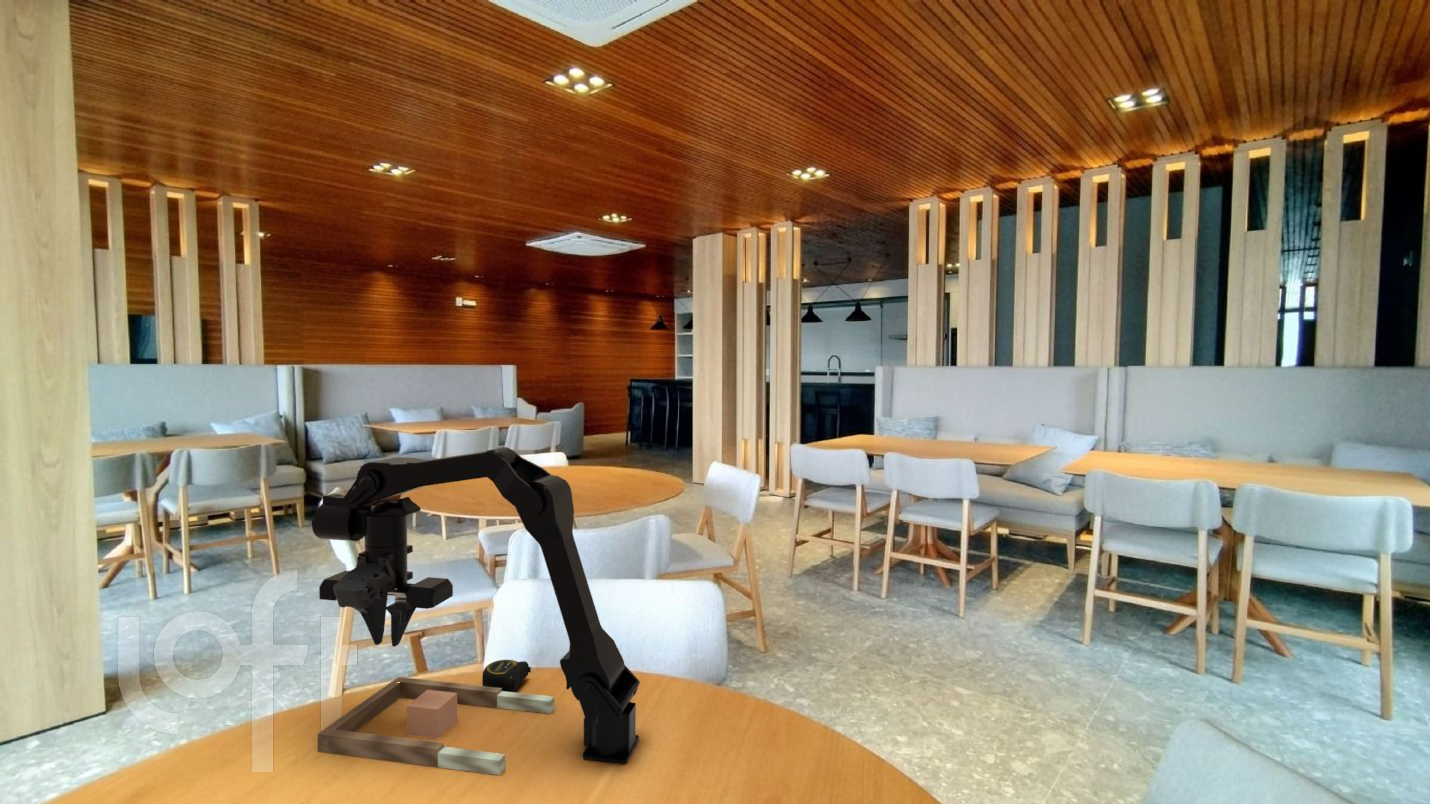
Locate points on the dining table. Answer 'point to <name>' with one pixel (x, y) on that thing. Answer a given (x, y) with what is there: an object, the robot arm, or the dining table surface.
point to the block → (432, 714)
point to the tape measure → (505, 674)
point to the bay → (421, 752)
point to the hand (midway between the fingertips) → (387, 644)
